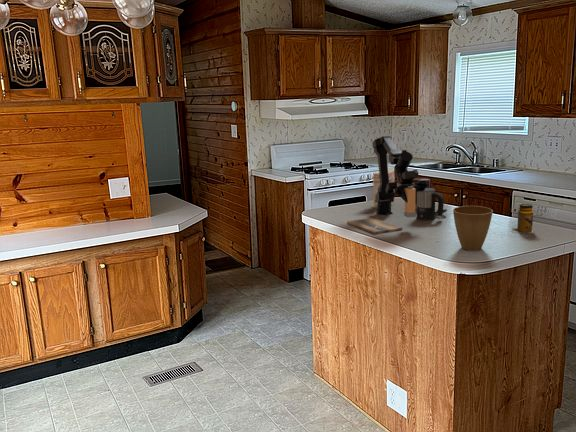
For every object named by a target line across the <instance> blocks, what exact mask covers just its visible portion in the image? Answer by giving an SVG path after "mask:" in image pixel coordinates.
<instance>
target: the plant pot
mask: <svg viewBox="0 0 576 432" xmlns="http://www.w3.org/2000/svg"><path fill="white" fill-rule="evenodd" d="M493 211H494V210H493V209H491V207H486V206H480V205H463V206H457V207H454V208H452V213H453V219H454V226H455V230H456V234H457V237H458V240H459V243H460V246H461V248H463V250H464V249H466V250H465V251H469V250H477V251H480V250H481V249H482V248H483V246H484V243H485V241H486V238H487V236H488V232H489V229H490V226H491V221H492V218H493V216H492V215H493ZM479 249H480V250H479Z"/></svg>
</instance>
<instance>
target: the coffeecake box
mask: <svg viewBox="0 0 576 432" xmlns="http://www.w3.org/2000/svg"><path fill="white" fill-rule="evenodd" d="M388 176H389V182H395V172H394V169H388ZM372 177H373V179H372V181H373V183H372V185H373V190H372V191H373V192H372V195H373V198H372V199H373V200H372V201H373V204H372V205H373V207H372V208H375V209H377V205H378V203H377V202H376V201H375V197H376V194H377V192H378V187H379V185H380V177H379V170H378V171H376V172H373V176H372ZM394 204H395V201H394V202H391V206H392V205H394Z"/></svg>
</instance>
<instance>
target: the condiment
mask: <svg viewBox="0 0 576 432" xmlns="http://www.w3.org/2000/svg"><path fill="white" fill-rule="evenodd" d="M533 218H534V211H533V204H530V203H521V204H520V205H519V209H518V212H517V227H516V228H515V227H512V228H511V231H512V233H516V234H517V233H518V234H519V233H521V234H534V231H533V223H534V219H533Z"/></svg>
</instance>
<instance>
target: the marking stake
mask: <svg viewBox="0 0 576 432" xmlns="http://www.w3.org/2000/svg"><path fill="white" fill-rule="evenodd" d="M404 191H405V194H406V197H407V200H408V202H407V203H406V202H405V201H404V213H403V216H405V218H416V217H417V211H416V208H415V188H413V186H408V188H405V189H404Z"/></svg>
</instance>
